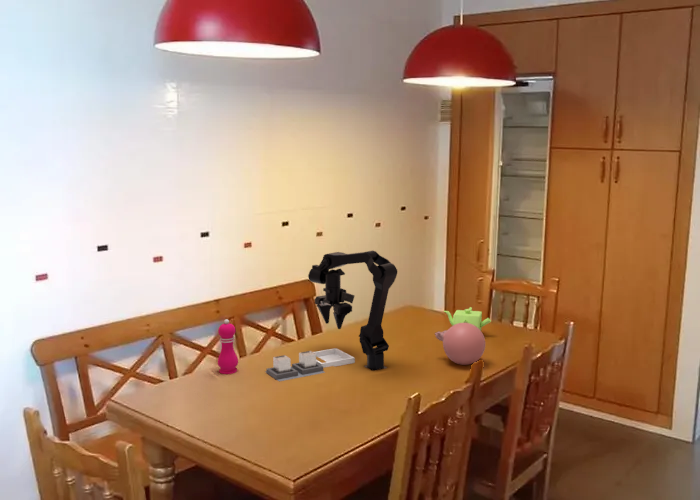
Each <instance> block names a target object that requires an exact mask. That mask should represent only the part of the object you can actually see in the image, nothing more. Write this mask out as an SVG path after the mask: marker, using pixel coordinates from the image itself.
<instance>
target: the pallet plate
mask: <svg viewBox="0 0 700 500" xmlns="http://www.w3.org/2000/svg"><path fill="white" fill-rule="evenodd" d="M264 372H265V374H267V375H268V376H270V377H272V378H273V379H274V380H275V381H278V382H283V381H288V380H294V379H298V378H304V377H309V376H314V375H315V376H316V375H320V374H325V373H326V372H325V371H324V368H323V366H322V365H320V364H318V363H316V367H313V368H307V369H303V368H301V367H299V362H296V363H295V362H294V363H291V372H286V373H281V374H277V373H275V372H274V368H273V367H268V368H266V371H265V370H264Z"/></svg>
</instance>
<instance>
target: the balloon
mask: <svg viewBox="0 0 700 500" xmlns="http://www.w3.org/2000/svg"><path fill="white" fill-rule="evenodd" d="M434 335H435V338H436V339H437V340H439V341H440V342H441V341H442V346H443V347H442V348H443V350H444V353H445V355H446V356H447V358H448V359H449V360H451V361H452V362H453V363H455V364H458V365H463V366H467V365H471V364H475V363H476V362H478V361H479V360H480V359H481V357H482V356H483V354H484V352H485V349H486V339H485V336H484V334H483V332H482V330H481V331H480V329H479V328H477V327H476V326H474V325H472V324H470V323H458V324H455V325H451V326H450V327H449V328H448V329H447V330H446V329H445V330H443V331H437V332H435V333H434Z"/></svg>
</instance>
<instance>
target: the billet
mask: <svg viewBox="0 0 700 500" xmlns="http://www.w3.org/2000/svg"><path fill="white" fill-rule="evenodd" d="M272 360H273V361H272V362H273V363H272V364H273V365H272V366H273V367H272V368H274V372H275V373H277V374H281V373H286V372H291V367H292V363H291V360H292V359H291V358H290V357H289V356H287V355H278V356H273V357H272Z"/></svg>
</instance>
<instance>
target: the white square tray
mask: <svg viewBox="0 0 700 500" xmlns="http://www.w3.org/2000/svg"><path fill="white" fill-rule="evenodd" d="M312 352H313V353H315V354H316V358H319V359H320V360H322V361H324V362H321V361H319V360H318V359H316V363H318V364H320V365H322V366H323V369H324V368H330V367H340V366H345V365H351V364H355V363H356V358H355V357H354V356H352V355H350V354H349V353H346V352H345V351H343V350H341V349H339V348H337V347H336V348H330V349H329V348H328V349H324V350H323V349H322V350H319V351H312Z"/></svg>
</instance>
